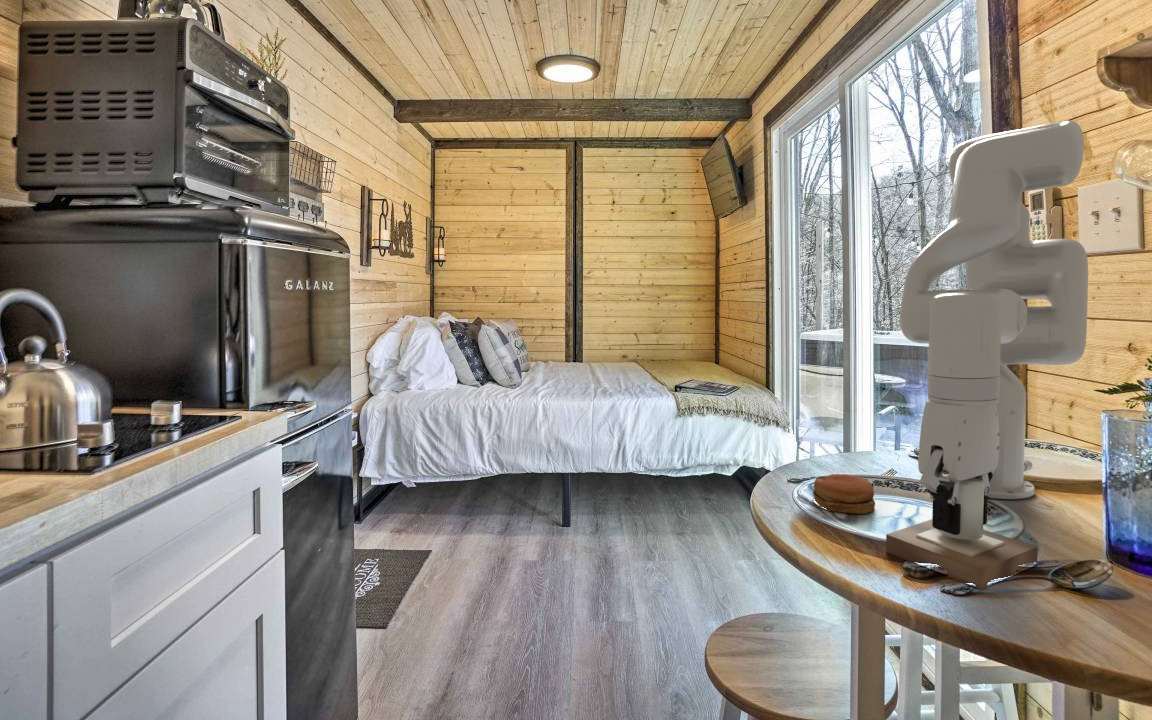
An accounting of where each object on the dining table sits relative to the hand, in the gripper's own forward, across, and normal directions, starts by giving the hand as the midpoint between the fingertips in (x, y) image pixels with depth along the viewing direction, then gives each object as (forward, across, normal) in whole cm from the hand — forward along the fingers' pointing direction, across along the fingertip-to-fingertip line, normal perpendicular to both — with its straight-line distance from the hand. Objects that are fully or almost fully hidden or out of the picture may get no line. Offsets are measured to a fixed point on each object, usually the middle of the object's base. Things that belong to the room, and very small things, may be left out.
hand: (959, 524), depth 74 cm
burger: (+5, -4, -21) cm, 22 cm away
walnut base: (+5, 0, 0) cm, 5 cm away
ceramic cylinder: (+1, 0, 0) cm, 1 cm away
